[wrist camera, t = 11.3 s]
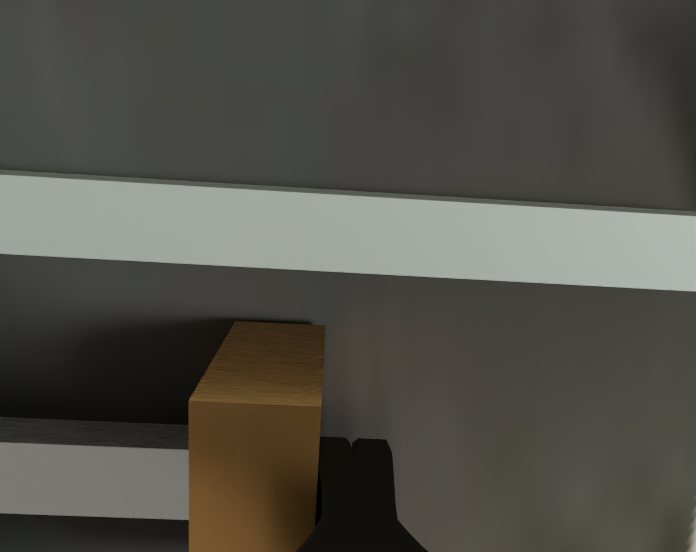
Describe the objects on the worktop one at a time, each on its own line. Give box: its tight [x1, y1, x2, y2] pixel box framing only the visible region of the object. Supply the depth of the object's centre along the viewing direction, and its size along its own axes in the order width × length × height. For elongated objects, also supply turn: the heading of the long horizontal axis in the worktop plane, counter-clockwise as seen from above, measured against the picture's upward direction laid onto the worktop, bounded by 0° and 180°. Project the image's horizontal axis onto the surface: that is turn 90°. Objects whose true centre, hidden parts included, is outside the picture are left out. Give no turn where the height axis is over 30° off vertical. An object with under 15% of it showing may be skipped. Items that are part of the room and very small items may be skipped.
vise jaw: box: [0, 321, 325, 552], centre depth 11 cm, size 8×12×4 cm, turn 86°
